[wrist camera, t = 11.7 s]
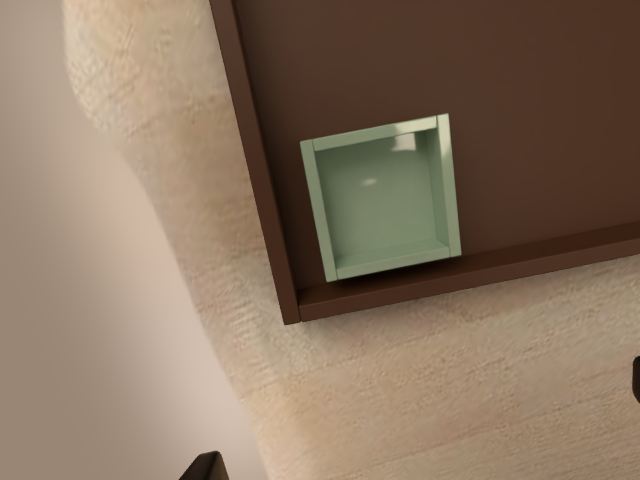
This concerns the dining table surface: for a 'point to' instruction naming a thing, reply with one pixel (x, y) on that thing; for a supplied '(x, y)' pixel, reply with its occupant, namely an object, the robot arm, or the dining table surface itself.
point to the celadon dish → (383, 196)
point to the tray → (465, 128)
